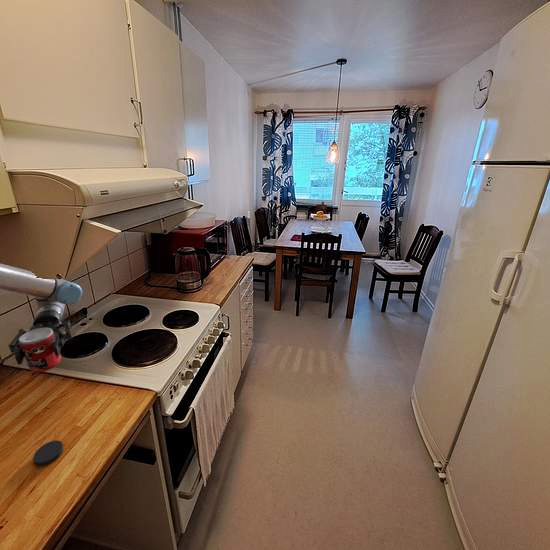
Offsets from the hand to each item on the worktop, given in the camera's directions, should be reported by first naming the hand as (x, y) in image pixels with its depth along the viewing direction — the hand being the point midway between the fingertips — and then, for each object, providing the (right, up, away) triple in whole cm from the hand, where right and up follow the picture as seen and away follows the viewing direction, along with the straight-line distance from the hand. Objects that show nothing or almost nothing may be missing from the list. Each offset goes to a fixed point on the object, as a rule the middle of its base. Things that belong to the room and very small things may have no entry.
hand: (37, 355), depth 82 cm
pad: (+10, -23, -9) cm, 27 cm away
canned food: (-2, -5, +6) cm, 8 cm away
